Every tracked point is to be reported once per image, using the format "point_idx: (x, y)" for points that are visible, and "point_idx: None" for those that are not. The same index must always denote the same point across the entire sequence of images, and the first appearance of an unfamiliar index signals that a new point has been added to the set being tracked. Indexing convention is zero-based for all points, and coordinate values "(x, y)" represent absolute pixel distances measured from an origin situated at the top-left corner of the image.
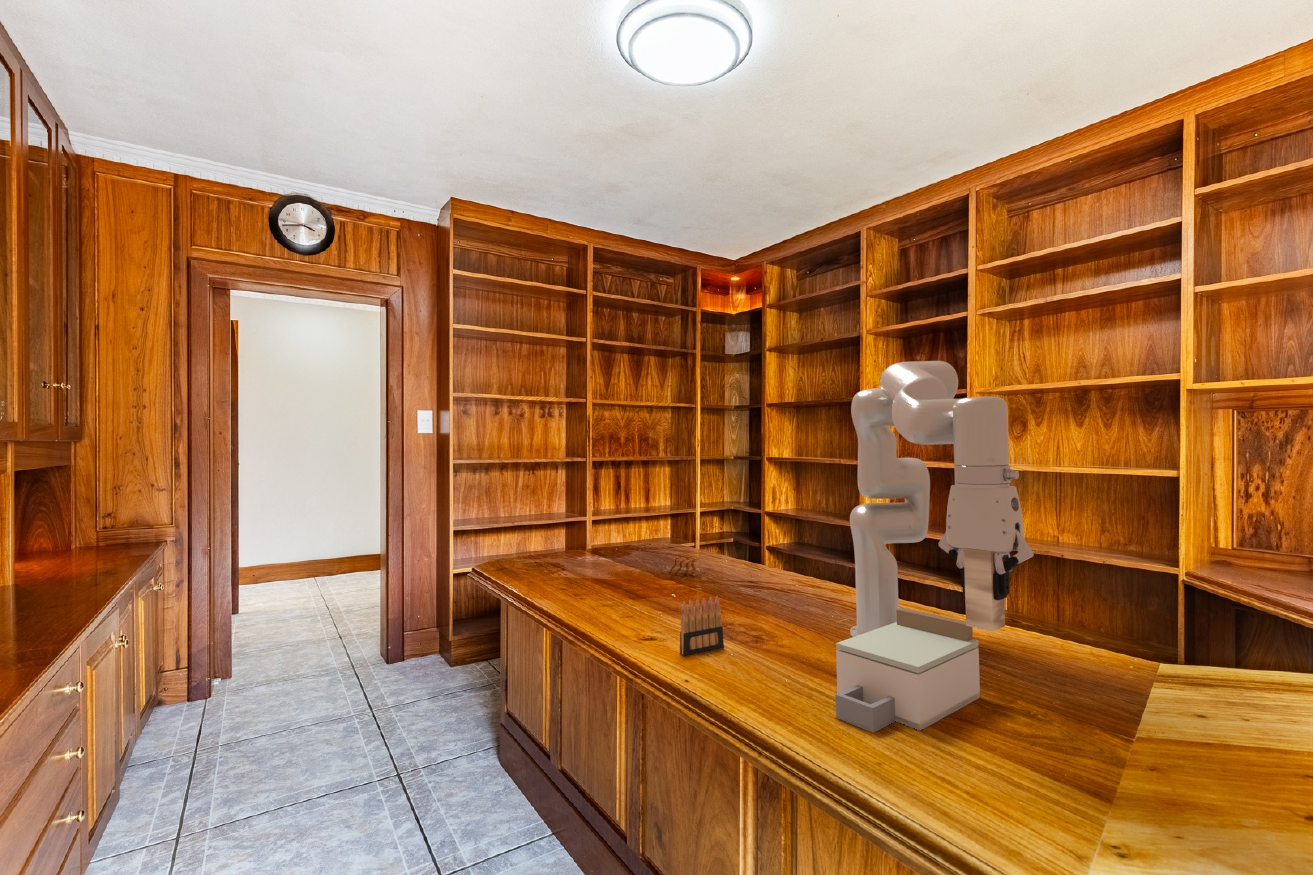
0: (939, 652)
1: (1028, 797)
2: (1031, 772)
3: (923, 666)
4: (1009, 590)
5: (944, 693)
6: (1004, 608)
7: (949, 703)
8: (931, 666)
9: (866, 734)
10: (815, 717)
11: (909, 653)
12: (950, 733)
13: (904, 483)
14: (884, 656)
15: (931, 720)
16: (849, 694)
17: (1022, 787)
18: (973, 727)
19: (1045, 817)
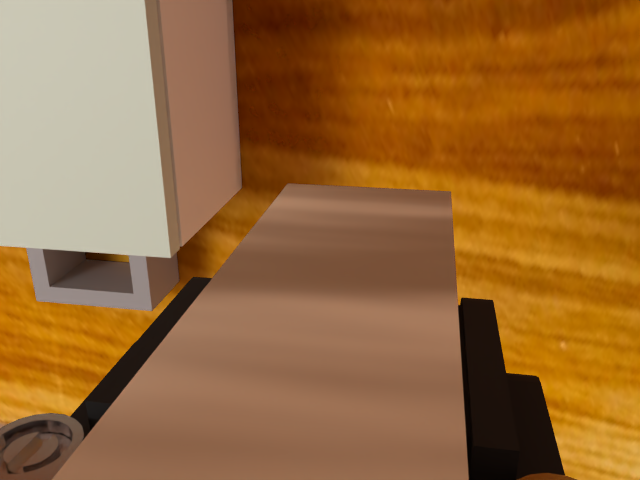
0: (114, 34)
1: (571, 316)
2: (543, 200)
3: (169, 220)
4: (539, 381)
5: (209, 52)
6: (452, 230)
7: (221, 15)
8: (170, 161)
9: (174, 297)
10: (46, 302)
11: (57, 142)
12: (301, 140)
13: None
14: (33, 240)
15: (235, 129)
16: (48, 259)
17: (547, 284)
18: (325, 50)
19: (621, 366)
